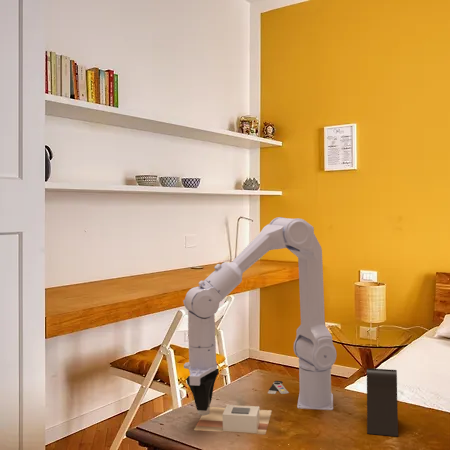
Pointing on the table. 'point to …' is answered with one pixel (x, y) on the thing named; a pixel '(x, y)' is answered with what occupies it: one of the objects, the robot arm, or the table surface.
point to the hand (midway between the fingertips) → (203, 406)
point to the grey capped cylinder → (205, 411)
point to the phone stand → (382, 402)
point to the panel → (216, 421)
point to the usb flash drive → (277, 388)
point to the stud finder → (241, 418)
